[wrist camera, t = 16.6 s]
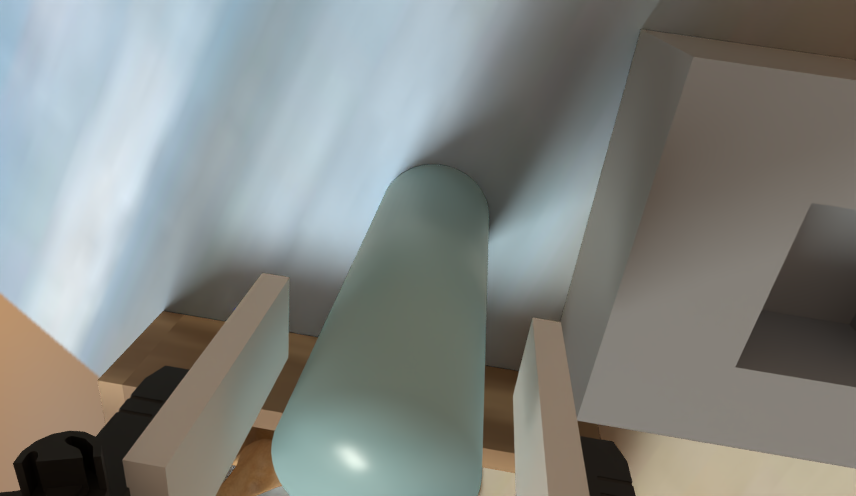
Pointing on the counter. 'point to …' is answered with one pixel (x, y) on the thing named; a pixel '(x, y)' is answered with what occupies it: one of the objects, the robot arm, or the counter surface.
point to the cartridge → (399, 354)
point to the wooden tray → (289, 380)
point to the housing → (723, 253)
